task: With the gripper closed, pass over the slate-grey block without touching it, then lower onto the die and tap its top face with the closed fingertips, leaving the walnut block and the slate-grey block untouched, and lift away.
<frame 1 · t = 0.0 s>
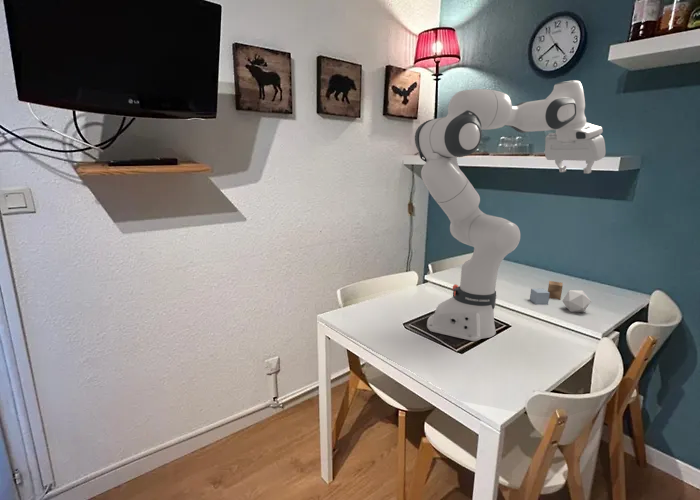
hand: (574, 172, 134), 52 cm above the table, tool tilted 20°, fingers open, 8 cm apart
walnut block: (553, 296, 164), on the table
die: (574, 310, 150), on the table
slate block: (538, 302, 158), on the table
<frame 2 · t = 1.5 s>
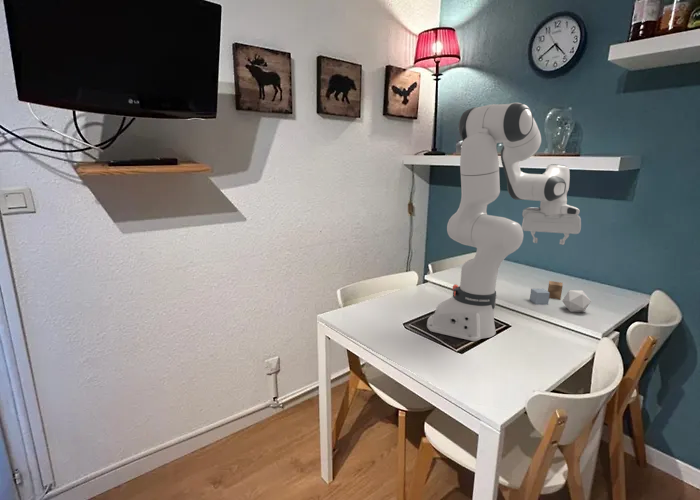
hand: (548, 243, 152), 24 cm above the table, tool pointing down, fingers open, 8 cm apart
nothing on the table moved.
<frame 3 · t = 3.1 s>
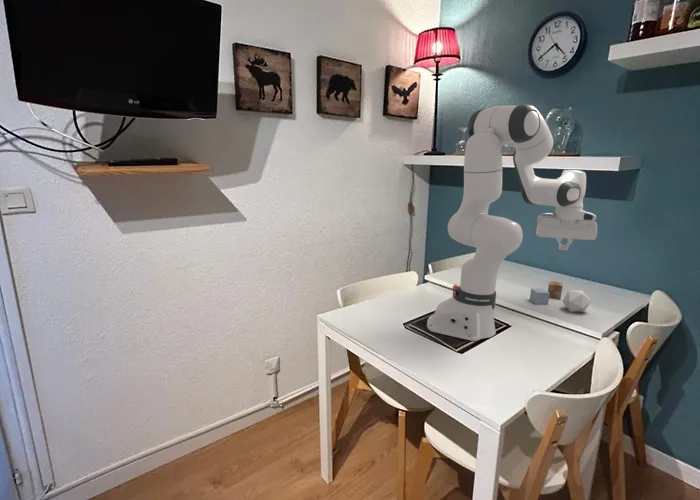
hand: (563, 249, 149), 23 cm above the table, tool pointing down, fingers closed
nothing on the table moved.
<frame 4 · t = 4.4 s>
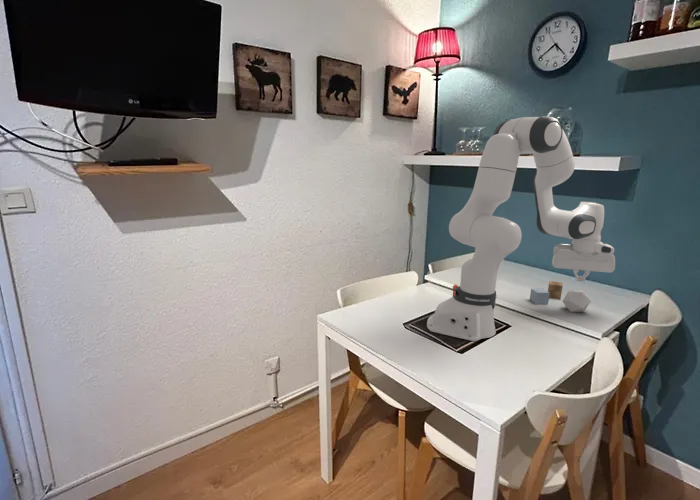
hand: (579, 281, 147), 12 cm above the table, tool pointing down, fingers closed
nothing on the table moved.
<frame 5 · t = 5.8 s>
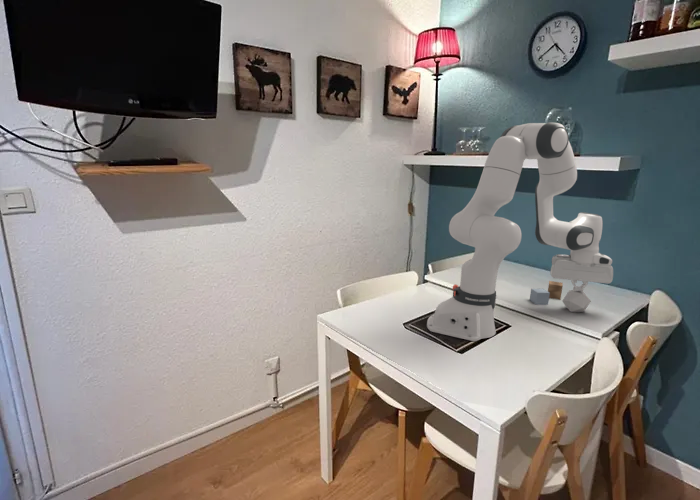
hand: (577, 291, 148), 8 cm above the table, tool pointing down, fingers closed, pressing on die
die: (574, 310, 150), on the table, touching gripper
everything else where it was.
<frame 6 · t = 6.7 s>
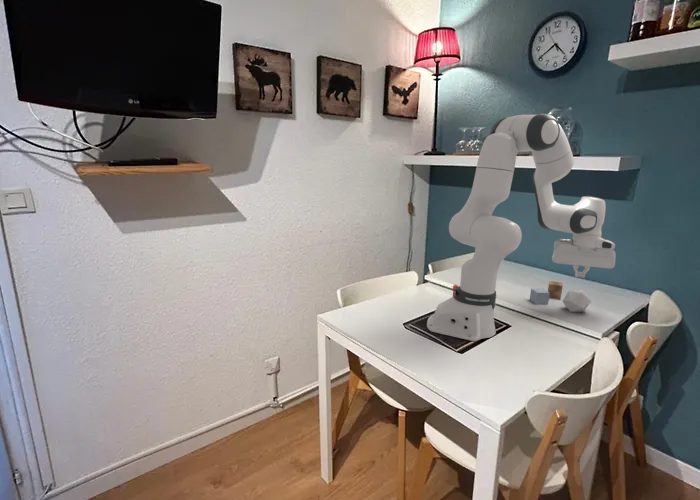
hand: (579, 276, 147), 13 cm above the table, tool pointing down, fingers closed
die: (574, 311, 150), on the table
everything else where it was.
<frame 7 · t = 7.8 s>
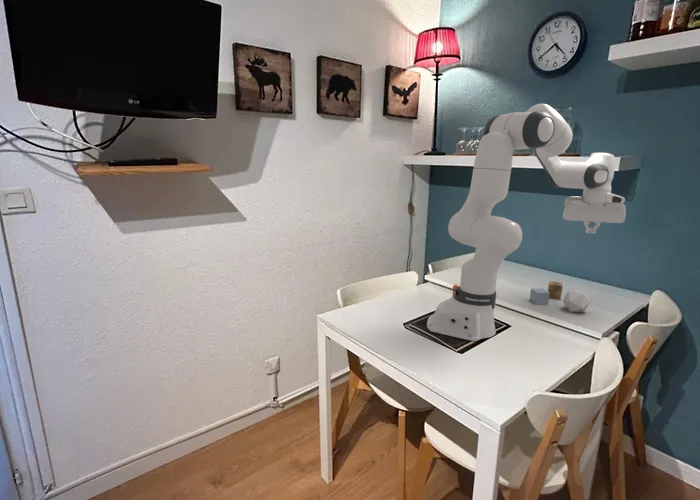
hand: (590, 233, 150), 29 cm above the table, tool pointing down, fingers closed
nothing on the table moved.
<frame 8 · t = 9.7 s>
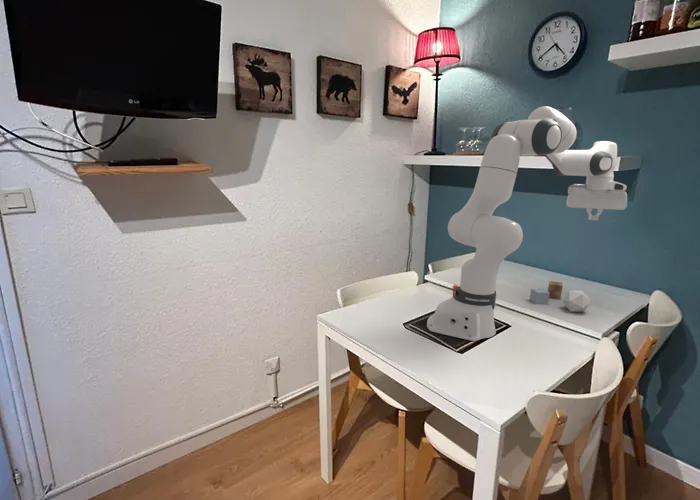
hand: (592, 220, 155), 33 cm above the table, tool pointing down, fingers closed
nothing on the table moved.
at the end: die moved 0.2 cm from its start; slate block moved 0.1 cm from its start; walnut block moved 0.1 cm from its start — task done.
